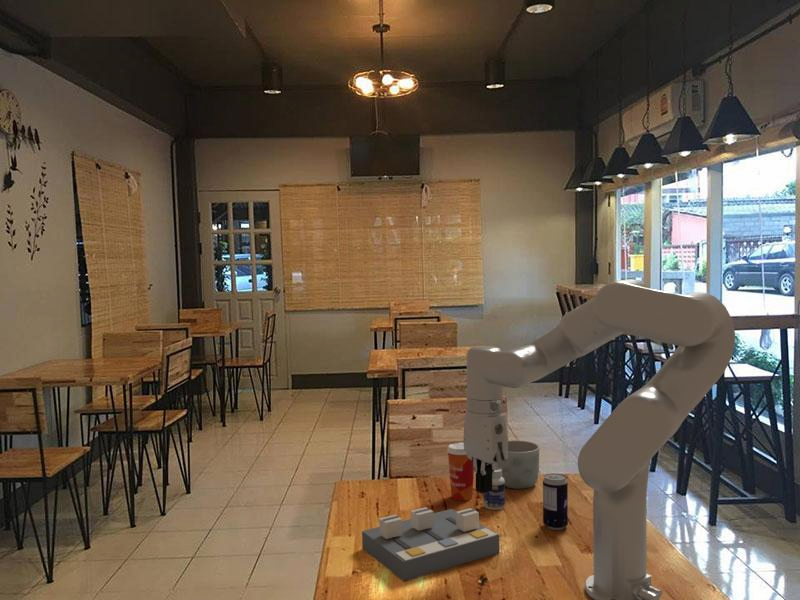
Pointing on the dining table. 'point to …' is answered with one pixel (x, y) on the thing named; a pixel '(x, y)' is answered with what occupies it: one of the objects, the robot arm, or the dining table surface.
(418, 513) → the slider
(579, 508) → the dining table surface
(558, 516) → the beverage can
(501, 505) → the pill bottle
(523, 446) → the planter
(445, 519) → the console
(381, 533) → the slider
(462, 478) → the paper cup
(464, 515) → the slider
